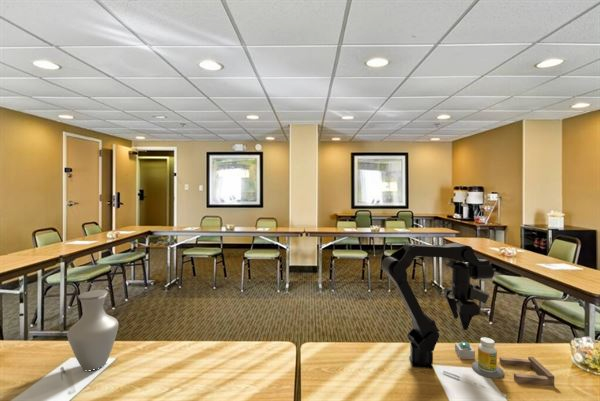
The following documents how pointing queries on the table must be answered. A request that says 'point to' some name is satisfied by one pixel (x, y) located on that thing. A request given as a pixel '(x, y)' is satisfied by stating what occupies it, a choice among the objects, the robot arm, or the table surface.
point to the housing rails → (532, 363)
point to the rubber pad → (494, 375)
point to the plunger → (464, 345)
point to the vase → (93, 332)
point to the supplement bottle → (487, 355)
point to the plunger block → (464, 352)
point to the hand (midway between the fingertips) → (460, 323)
